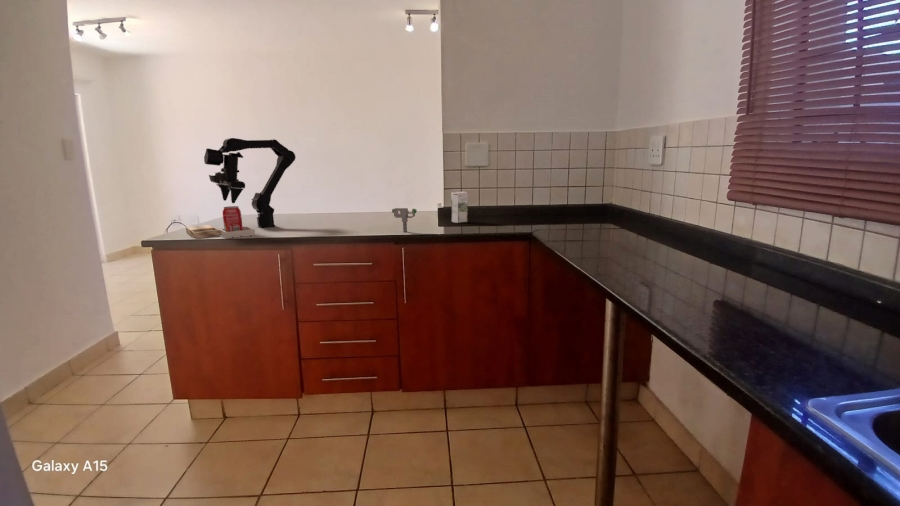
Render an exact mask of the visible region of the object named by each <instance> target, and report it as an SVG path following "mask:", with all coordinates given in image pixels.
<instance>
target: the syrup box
mask: <svg viewBox="0 0 900 506" xmlns="http://www.w3.org/2000/svg"><path fill="white" fill-rule="evenodd" d="M450 197H451V199H450V201H451V208H450V209H451V217H450V218H451V222H452V223H455V224H456V223H457V224H462V223H468V220H469V219H468V215H469V213H468V210H469V209H468V201H469V200H468V197H469V196H468V192H467V191H462V190H461V191H452V192H451V196H450Z"/></svg>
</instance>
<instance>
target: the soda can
mask: <svg viewBox="0 0 900 506" xmlns="http://www.w3.org/2000/svg"><path fill="white" fill-rule="evenodd" d="M222 218H223V219H222V221H223V229H225V231H226V232H231V231H241V230H243V227H244V226H243V220H242V219H243V217H242V212H241V208H239V206H238V205H233V206H232V205H231V206H224V207H223V210H222Z"/></svg>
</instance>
